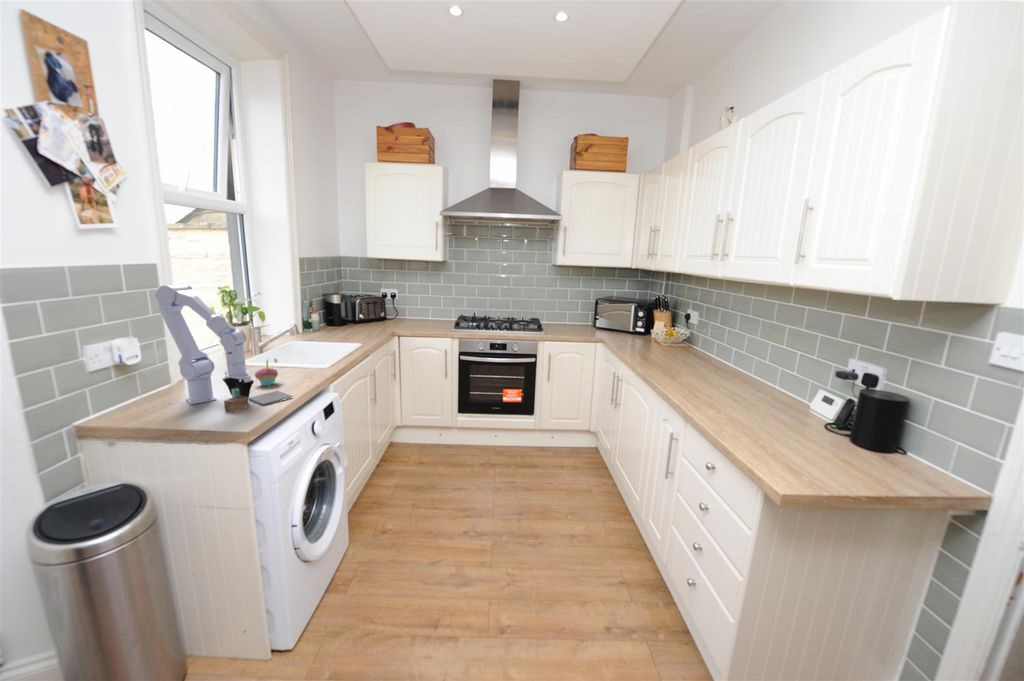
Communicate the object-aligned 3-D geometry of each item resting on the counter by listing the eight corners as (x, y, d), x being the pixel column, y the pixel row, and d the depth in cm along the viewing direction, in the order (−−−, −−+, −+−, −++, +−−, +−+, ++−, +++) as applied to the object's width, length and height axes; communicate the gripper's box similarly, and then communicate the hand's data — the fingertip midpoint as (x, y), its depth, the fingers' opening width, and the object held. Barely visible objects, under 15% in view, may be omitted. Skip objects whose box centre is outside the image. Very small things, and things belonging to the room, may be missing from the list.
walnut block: (225, 411, 145) (223, 400, 144) (240, 405, 150) (239, 395, 150) (233, 412, 144) (232, 401, 143) (248, 407, 149) (247, 396, 148)
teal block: (232, 401, 154) (231, 388, 153) (244, 398, 157) (243, 386, 156) (235, 403, 152) (234, 391, 151) (248, 401, 155) (246, 388, 154)
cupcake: (282, 383, 176) (280, 357, 174) (262, 388, 169) (259, 360, 167) (272, 380, 181) (269, 354, 179) (252, 384, 174) (249, 357, 172)
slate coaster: (248, 399, 156) (248, 397, 156) (277, 392, 165) (277, 390, 165) (263, 405, 150) (263, 403, 150) (292, 398, 159) (292, 396, 159)
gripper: (214, 361, 152) (218, 396, 154) (234, 367, 144) (238, 403, 147) (234, 358, 158) (238, 391, 160) (255, 363, 150) (258, 398, 153)
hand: (240, 396), depth 154 cm, fingers open, 7 cm apart
